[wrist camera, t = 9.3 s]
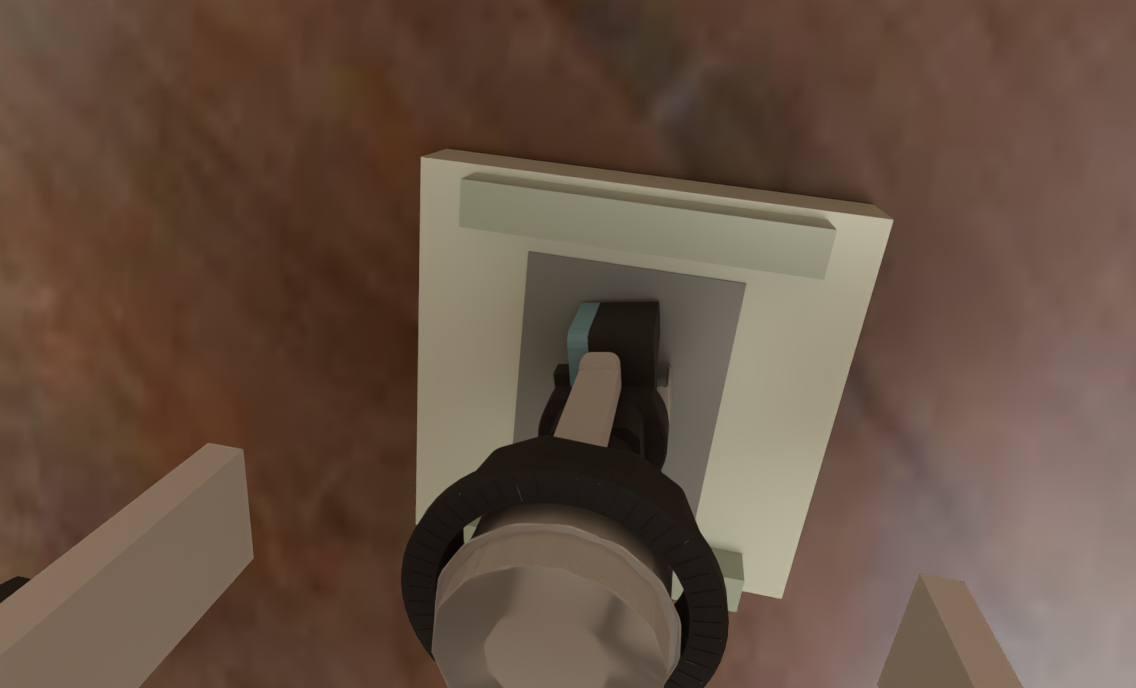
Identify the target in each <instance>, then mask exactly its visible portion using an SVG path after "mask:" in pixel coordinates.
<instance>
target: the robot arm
mask: <svg viewBox="0 0 1136 688" xmlns="http://www.w3.org/2000/svg"><path fill="white" fill-rule="evenodd" d="M253 558H254V555H253V544H252V534H251V523H250V513H249V503H248V492H247V482H246V472H245V461H244V451H243V449H240V448H234V447H229V446H223V445H218V444H212V443H207V444H206V445H205V446H203V447H202V448H201V449H199V450H198V451H197V452H195V453H194V454H193V455H192V456H190V457H189V458H188V459H186V460H185V461H184V462H183V463H181V464H180V465H179V466H177V467H176V468H175V469H174V470H172V471H171V472H170V473H168V474H167V475H166V476H164V477H163V478H162V479H161V480H159V481H158V482H157V483H155V484H154V485H153V486H152V487H150V488H149V489H148V490H146V491H145V492H144V493H142V494H141V495H140V496H139V497H137V498H136V499H135V500H133V501H132V502H131V503H130V504H128V505H127V506H126V507H124V508H123V509H122V510H121V511H119V512H118V513H117V514H115V515H114V516H113V517H111V518H110V519H109V520H108V521H106V522H105V523H104V524H102V525H101V526H100V527H99V528H97V529H96V530H95V531H93V532H92V533H91V534H89V535H88V536H87V537H86V538H84V539H83V540H82V541H80V542H79V543H78V544H77V545H75V546H74V547H73V548H71V549H70V550H69V551H68V552H66V553H65V554H64V555H62V556H61V557H60V558H58V559H57V560H56V561H55V562H53V563H52V564H51V565H49V566H48V567H47V568H46V569H44V570H43V571H42V572H40V573H39V574H38V575H36V576H35V577H34V578H33V579H28V578H24V577H19V576H17V577H15V578H13V579H11V580H9V581H7V582H5V583H3V584H0V688H139V687H140V686H141V684H142V683H143V682H144V681H145V680H146V679H147V678H148V677H149V675H150V674H151V673H152V672H153V671H154V670H155V669H156V668H157V666H158V665H159V664H160V663H161V662H162V661H163V660H164V659H165V657H166V656H167V655H168V654H169V653H170V652H171V651H172V650H173V648H174V647H175V646H176V645H177V644H178V643H179V642H180V641H181V639H182V638H183V637H184V636H185V635H186V634H187V633H188V632H189V630H190V629H191V628H192V627H193V626H194V625H195V624H196V623H197V621H198V620H199V619H200V618H201V617H202V616H203V615H204V614H205V612H206V611H207V610H208V609H209V608H210V607H211V606H212V605H213V603H214V602H215V601H216V600H217V599H218V598H219V597H220V596H221V594H222V593H223V592H224V591H225V590H226V589H227V588H228V587H229V585H230V584H231V583H232V582H233V581H234V580H235V579H236V578H237V576H238V575H239V574H240V573H241V572H242V571H243V570H244V569H245V567H246V566H247V565H248V564H249V563H250V562H251V561H252V560H253ZM877 685H878V688H1023V686H1022V685H1021V683H1020V681H1019V679H1018V677H1017V676H1016V674H1015V672H1014V670H1013V668H1012V667H1011V665H1010V663H1009V661H1008V659H1007V658H1006V656H1005V654H1004V652H1003V650H1002V649H1001V647H1000V645H999V643H998V641H997V640H996V638H995V636H994V634H993V632H992V631H991V629H990V627H989V625H988V623H987V622H986V620H985V618H984V616H983V614H982V613H981V611H980V609H979V607H978V605H977V604H976V602H975V600H974V598H973V596H972V595H971V593H970V591H969V589H968V587H967V586H966V584H965V582H964V581H959V580H953V579H948V578H942V577H937V576H931V575H926V574H921V573H920V574H919V577H918V580H917V582H916V585H915V587H914V590H913V593H912V595H911V598H910V600H909V603H908V606H907V608H906V611H905V613H904V616H903V618H902V621H901V624H900V626H899V629H898V631H897V634H896V637H895V639H894V642H893V644H892V647H891V650H890V652H889V655H888V657H887V660H886V663H885V665H884V668H883V670H882V673H881V676H880V678H879V681H878V683H877Z"/></svg>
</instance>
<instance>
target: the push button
mask: <svg viewBox="0 0 1136 688" xmlns="http://www.w3.org/2000/svg"><path fill="white" fill-rule="evenodd" d="M659 341H660V305H659V302H601V303H581V304H580V306H579V310H578V312H577V314H576V316H575V318H574V320H573V322H572V324H571V326H570V328H569V331H568V337H567V349H568V361H569V364H558V365H557V366H556V368H555V371H554V373H553V379H554V390H553V392H552V394H551V396H550V398H549V400H548V402H547V405H546V407H545V409H544V411H543V413H542V416H541V419H540V422H539V428H538V437H535V438H532V439H528V440H524V441H521V442H517V443H514V444H510V445H507V446H503V447H500V448H497V449H496V450H494V451H493V452H492V453H491V454H490V455H489V456H488V458H487V459H486V460H485V461H484V462H483V463H482V464H481V465H480V467H479V468H478V469H477V470H476V471H474V472H472V473H470V474H468V475H466V476H465V477H463V478H461V479H459V480H458V481H456V482H455V483H453V484H452V485H451V486H449V487H448V488H447V489H446V490H444V491H443V492H442V493H441V494H440V495H439V496H438V497H437V498H436V499H435V500H434V501H433V503H432V504H431V505H430V506H429V507H428V509H427V510H426V512H425V513H424V515H423V516H422V518H421V520H420V521H419V523H418V525H417V526H416V528H415V529H414V531H413V533H412V535H411V537H410V539H409V542H408V544H407V547H406V550H405V554H404V557H403V564H402V573H401V585H402V594H403V600H404V604H405V608H406V611H407V614H408V617H409V620H410V623H411V625H412V627H413V629H414V631H415V633H416V635H417V637H418V638H419V640H420V642H421V643H422V645H423V647H424V648H425V649H426V651H427V652H428V653H429V655H430V656H431V657H432V659H433V660H434V661H435V662H436V663H437V665H438V667H439V669H440V671H441V673H442V676H443V678H444V680H445V682H446V684H447V686H448V688H704V687H705V686H706V684H707V683H708V682H709V680H710V679H711V678H712V676H713V675H714V673H715V671H716V669H717V667H718V666H719V664H720V662H721V659H722V656H723V653H724V651H725V647H726V642H727V637H728V623H729V619H728V603H727V591H726V586H725V582H724V577H723V574H722V571H721V569H720V566H719V563H718V561H717V559H716V557H715V555H714V553H713V551H712V549H711V547H710V546H709V544H708V543H707V541H706V540H705V538H704V536H703V535H702V534H701V532H700V530H699V528H698V525H697V523H696V520H695V518H694V515H693V513H692V510H691V508H690V505H689V503H688V500H687V498H686V495H685V493H684V491H683V489H682V488H681V487H680V486H679V485H678V484H677V483H675V482H674V481H673V480H671V479H670V478H669V477H668V476H666V475H665V474H664V473H662V472H661V471H662V468H663V465H664V463H665V459H666V455H667V447H668V434H669V424H670V416H671V403H672V386H671V366H668V371H667V385H665V386H657V364H658V352H659ZM481 516H482V517H481ZM479 517H481V519H480V521H479V523H478V525H477V527H476V529H475V531H474V533H473V535H472V537H471V539H470V540H469V541H468V542H467V543H464V527H465V526H467V525H468V524H469V523H471V522H473V521H474V520H476V519H477V518H479ZM673 571H674V572H675V574H676V575H677V577H678V579H679V581H680V583H681V585H682V587H683V592H682V594H681V596H680V597H679V599H678V600H677V602H676V603H675V604H674V605H673V603H672V601H671V598H672V577H673Z"/></svg>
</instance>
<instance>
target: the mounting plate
mask: <svg viewBox="0 0 1136 688" xmlns="http://www.w3.org/2000/svg"><path fill="white" fill-rule="evenodd" d="M892 224H893V219H892V218H891V217H889V216H888V215H887V214H885V213H884V212H883V211H882V210H880V209H879V208H878V207H876V206H875V205H874V204H866V203H858V202H851V201H843V200H836V199H828V198H820V197H813V196H805V195H797V194H790V193H782V192H774V191H767V190H759V189H751V188H744V187H736V186H729V185H721V184H713V183H706V182H698V181H690V180H683V179H675V178H667V177H660V176H652V175H644V174H637V173H629V172H622V171H614V170H606V169H599V168H591V167H583V166H576V165H568V164H560V163H553V162H545V161H537V160H530V159H522V158H515V157H507V156H499V155H492V154H484V153H476V152H469V151H461V150H453V149H444V150H441V151H438V152H435V153H432V154H428V155H425V156H422V157H421V187H420V258H419V329H418V400H417V471H416V525H418V523H419V521H420V520H421V518H422V516H423V515H424V513H425V512H426V510H427V509H428V507H429V506H430V505H431V504H432V503H433V501H434V500H435V499H436V498H437V497H438V496H439V495H440V494H441V493H442V492H443V491H444V490H446V489H447V488H448V487H449V486H451V485H452V484H453V483H455V482H456V481H458V480H459V479H461V478H463V477H465V476H466V475H468V474H470V473H472V472H474V471H476V470H477V469H478V468H479V467H480V465H481V464H482V463H483V462H484V461H485V460H486V459H487V458H488V456H489V455H490V454H491V453H492V452H493V451H494V450H496V449H497V448H500V447H503V446H507V445H510V444H514V443H517V442H521V441H524V440H528V439H532V438H535V437H538V428H539V422H540V419H541V416H542V413H543V411H544V409H545V407H546V405H547V402H548V400H549V398H550V396H551V394H552V392H553V390H554V379H553V373H554V371H555V368H556V366H557V365H558V364H569V361H568V349H567V337H568V331H569V328H570V326H571V324H572V322H573V320H574V318H575V316H576V314H577V312H578V310H579V306H580V304H581V303H601V302H659V305H660V341H659V352H658V364H657V386H665V385H667V371H668V366H671V386H672V403H671V416H670V424H669V434H668V447H667V455H666V459H665V463H664V465H663V468H662V471H661V472H662V473H664V474H665V475H666V476H668V477H669V478H670V479H671V480H673V481H674V482H675V483H677V484H678V485H679V486H680V487H681V488H682V489H683V491H684V493H685V495H686V498H687V500H688V503H689V505H690V508H691V510H692V513H693V515H694V518H695V520H696V523H697V525H698V528H699V530H700V532H701V534H702V535H703V536H704V538H705V540H706V541H707V543H708V544H709V546H710V547H711V549H712V551H713V553H714V555H715V557H716V559H717V561H718V563H719V566H720V569H721V571H722V574H723V577H724V582H725V586H726V591H727V603H728V611H732V612H737V608H738V604H739V600H740V596H741V593H742V591H745V592H750V593H755V594H760V595H765V596H770V597H775V598H780V599H782V596H783V592H784V589H785V585H786V582H787V579H788V575H789V572H790V569H791V565H792V562H793V558H794V555H795V552H796V548H797V545H798V541H799V538H800V535H801V531H802V528H803V525H804V521H805V518H806V514H807V511H808V508H809V504H810V501H811V498H812V494H813V491H814V487H815V484H816V481H817V477H818V474H819V470H820V467H821V464H822V460H823V457H824V454H825V450H826V447H827V443H828V440H829V437H830V433H831V430H832V427H833V423H834V420H835V416H836V413H837V410H838V406H839V403H840V399H841V396H842V393H843V389H844V386H845V383H846V379H847V376H848V372H849V369H850V366H851V362H852V359H853V356H854V352H855V349H856V345H857V342H858V339H859V335H860V332H861V328H862V325H863V322H864V318H865V315H866V312H867V308H868V305H869V301H870V298H871V295H872V291H873V288H874V285H875V281H876V278H877V274H878V271H879V268H880V264H881V261H882V257H883V254H884V251H885V247H886V244H887V241H888V237H889V234H890V230H891V227H892ZM481 517H482V516H481ZM481 517H479V518H477V519H476V520H474V521H473V522H471V523H469V524H468V525H467V526H465V527H464V543H467V542H468V541H469V540H470V539H471V537H472V535H473V533H474V531H475V529H476V527H477V525H478V523H479V521H480V519H481ZM682 592H683V587H682V585H681V583H680V581H679V579H678V577H677V575H676V574H675V572H674V571H673V577H672V598H671V599H675V600H678V599H679V597H680V596H681V594H682Z"/></svg>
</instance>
